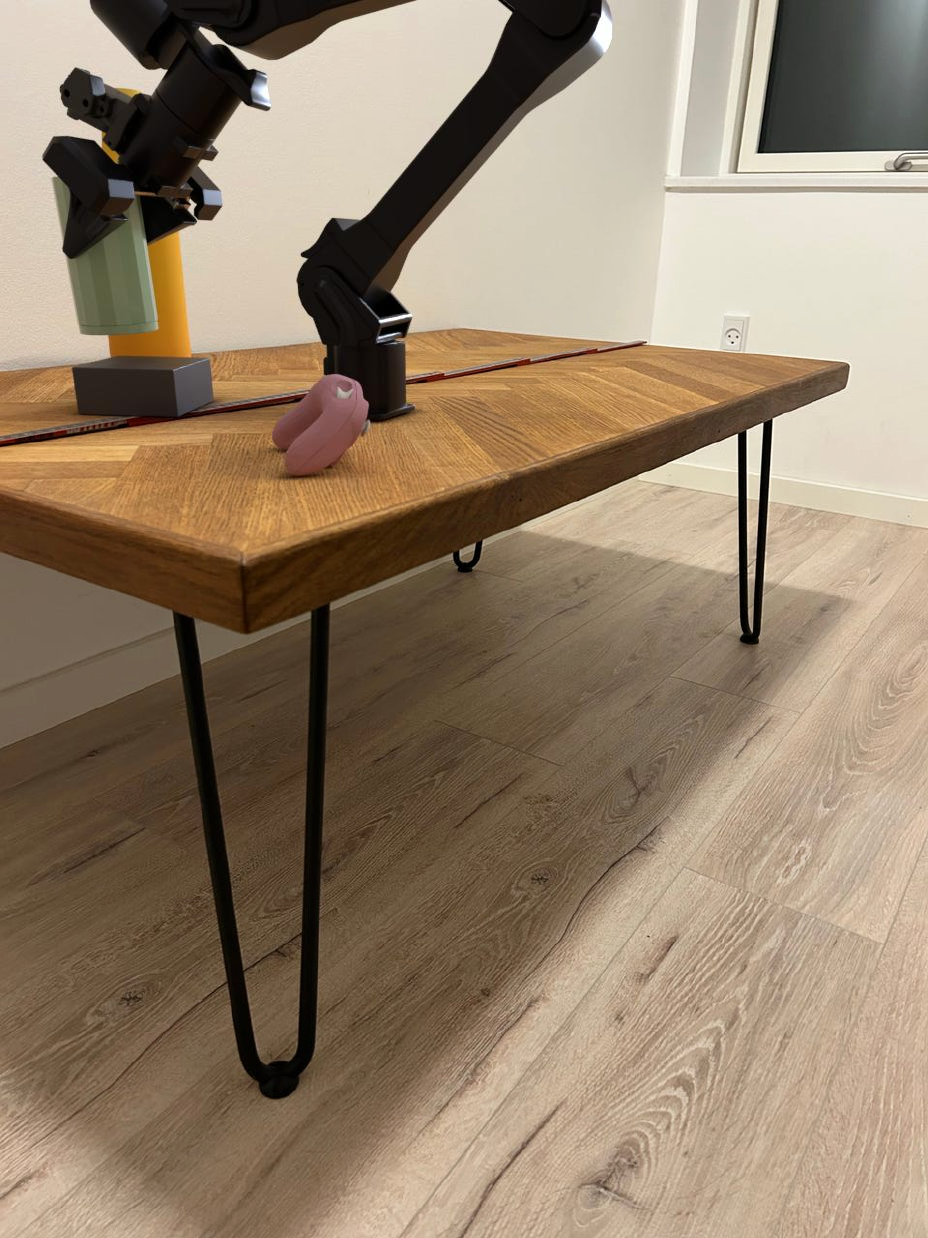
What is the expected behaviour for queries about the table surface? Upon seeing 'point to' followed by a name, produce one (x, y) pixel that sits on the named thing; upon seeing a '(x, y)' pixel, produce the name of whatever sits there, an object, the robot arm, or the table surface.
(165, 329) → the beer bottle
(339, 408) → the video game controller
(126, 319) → the cup
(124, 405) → the block
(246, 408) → the table surface
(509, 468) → the table surface
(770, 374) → the table surface
